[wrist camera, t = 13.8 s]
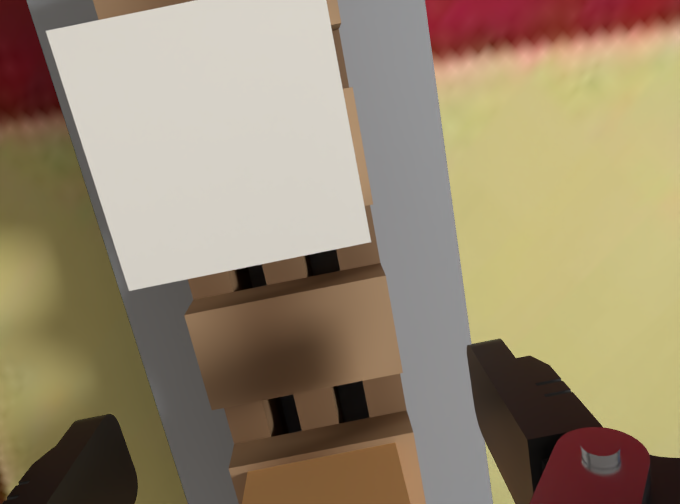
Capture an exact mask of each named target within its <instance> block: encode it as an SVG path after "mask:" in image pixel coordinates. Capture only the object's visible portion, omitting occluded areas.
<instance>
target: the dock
mask: <svg viewBox="0 0 680 504" xmlns="http://www.w3.org/2000/svg"><path fill="white" fill-rule="evenodd" d="M26 1H27V4H28V7H29V10H30V13H31V16H32V19H33V22H34V26H35V29H36V32H37V35H38V38H39V41H40V44H41V47H42V50H43V54H44V57H45V60H46V63H47V66H48V69H49V72H50V75H51V78H52V82H53V85H54V88H55V91H56V94H57V97H58V100H59V103H60V107H61V110H62V113H63V116H64V119H65V122H66V125H67V128H68V131H69V135H70V138H71V141H72V144H73V147H74V150H75V153H76V156H77V160H78V163H79V166H80V169H81V172H82V175H83V178H84V181H85V184H86V188H87V191H88V194H89V197H90V200H91V203H92V206H93V209H94V212H95V216H96V219H97V222H98V225H99V228H100V231H101V234H102V237H103V241H104V244H105V247H106V250H107V253H108V256H109V259H110V262H111V265H112V269H113V272H114V275H115V278H116V281H117V284H118V287H119V290H120V294H121V297H122V300H123V303H124V306H125V309H126V312H127V315H128V318H129V322H130V325H131V328H132V331H133V334H134V337H135V340H136V343H137V346H138V350H139V353H140V356H141V359H142V362H143V365H144V368H145V371H146V375H147V378H148V381H149V384H150V387H151V390H152V393H153V396H154V399H155V403H156V406H157V409H158V412H159V415H160V418H161V421H162V424H163V428H164V431H165V434H166V437H167V440H168V443H169V446H170V449H171V452H172V456H173V459H174V462H175V465H176V468H177V471H178V474H179V477H180V480H181V484H182V487H183V490H184V493H185V496H186V499H187V502H188V504H239V503H238V499H237V496H236V492H235V489H234V485H233V482H232V479H231V475H230V472H229V465H230V460H231V456H232V451H233V447H234V442H233V438H232V435H231V431H230V428H229V424H228V421H227V417H226V414H225V410H224V408H222V409H217V410H211V406H210V403H209V399H208V396H207V392H206V389H205V385H204V382H203V378H202V375H201V372H200V368H199V365H198V361H197V358H196V354H195V351H194V347H193V344H192V341H191V337H190V334H189V330H188V327H187V323H186V320H185V316H184V315H185V313H186V311H187V310H188V308H189V306H190V305H191V303H192V301H193V297H192V293H191V290H190V286H189V283H188V279H186V280H181V281H176V282H171V283H166V284H161V285H156V286H151V287H146V288H141V289H137V290H132V291H129V289H128V286H127V283H126V280H125V277H124V274H123V271H122V268H121V264H120V261H119V258H118V255H117V252H116V249H115V246H114V243H113V239H112V236H111V233H110V230H109V227H108V224H107V221H106V218H105V215H104V211H103V208H102V205H101V202H100V199H99V196H98V193H97V190H96V186H95V183H94V180H93V177H92V174H91V171H90V168H89V165H88V162H87V158H86V155H85V152H84V149H83V146H82V143H81V140H80V137H79V133H78V130H77V127H76V124H75V121H74V118H73V115H72V112H71V109H70V105H69V102H68V99H67V96H66V93H65V90H64V87H63V84H62V81H61V77H60V74H59V71H58V68H57V65H56V62H55V59H54V56H53V52H52V49H51V46H50V43H49V40H48V37H47V34H46V31H48V30H53V29H58V28H62V27H67V26H72V25H77V24H82V23H87V22H92V21H97V20H98V16H97V13H96V9H95V6H94V2H93V0H26ZM337 1H338V7H339V13H340V18H341V25H340V28H339V33H340V38H341V44H342V50H343V55H344V61H345V66H346V72H347V78H348V83H349V88H350V87H353V92H354V98H355V104H356V109H357V115H358V121H359V126H360V132H361V138H362V143H363V149H364V155H365V160H366V166H367V172H368V177H369V183H370V189H371V194H372V200H373V205H370V207H371V213H372V218H373V224H374V229H375V235H376V241H377V246H378V252H379V258H380V263H381V265H382V268H383V270H384V272H385V275H386V280H387V285H388V291H389V297H390V302H391V308H392V314H393V319H394V325H395V331H396V336H397V342H398V348H399V353H400V359H401V365H402V370H403V373H400V376H401V381H402V387H403V393H404V398H405V404H406V409H407V413H408V416H409V420H410V423H411V426H412V429H413V433H414V439H415V444H416V450H417V456H418V461H419V467H420V473H421V478H422V484H423V490H424V495H425V501H426V504H493V500H492V493H491V485H490V478H489V471H488V463H487V456H486V449H485V441H484V438H483V436H482V433H481V431H480V428H479V425H478V421H477V417H476V413H475V408H474V401H473V394H472V387H471V380H470V373H469V366H468V359H467V345H470V344H471V338H470V331H469V323H468V316H467V308H466V301H465V294H464V286H463V279H462V272H461V264H460V257H459V249H458V242H457V235H456V227H455V220H454V213H453V205H452V198H451V190H450V183H449V176H448V168H447V161H446V154H445V146H444V139H443V131H442V124H441V117H440V109H439V102H438V95H437V87H436V80H435V72H434V65H433V58H432V50H431V43H430V36H429V28H428V21H427V13H426V6H425V0H337ZM309 257H310V262H311V267H312V271H313V276H316V275H321V274H326V273H332V272H337V271H340V267H339V262H338V257H337V252H336V249H335V250H330V251H325V252H320V253H315V254H310V255H309ZM248 271H249V275H250V279H251V283H252V287H253V288H256V287H261V286H266V285H267V284H266V280H265V276H264V272H263V267H262V264H260V265H255V266H250V267H248ZM337 388H338V392H339V397H340V402H341V406H342V411H343V416H344V420H345V422H350V421H355V420H360V419H365V418H370V417H369V412H368V407H367V402H366V397H365V392H364V387H363V382H362V381H359V382H354V383H349V384H344V385H339V386H337ZM280 400H281V404H282V408H283V412H284V416H285V420H286V424H287V428H288V432H289V433H294V432H299V431H302V429H301V425H300V421H299V417H298V413H297V409H296V404H295V400H294V396H293V395H288V396H283V397H280Z"/></svg>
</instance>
